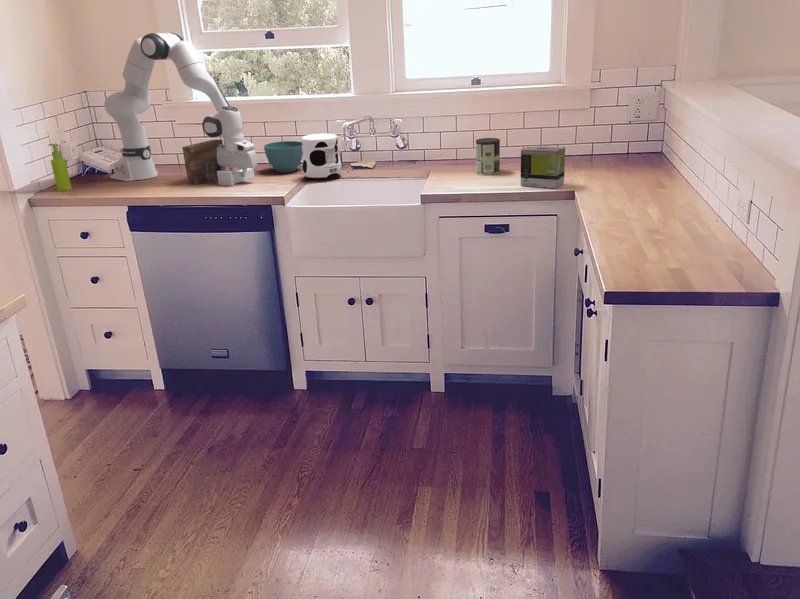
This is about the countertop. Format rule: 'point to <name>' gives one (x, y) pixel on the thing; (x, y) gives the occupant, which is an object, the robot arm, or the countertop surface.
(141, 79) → the robot arm
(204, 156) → the brown wooden block
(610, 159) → the countertop surface
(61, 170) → the soap dispenser
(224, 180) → the white t-shaped piece
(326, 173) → the milk container
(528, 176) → the tea box
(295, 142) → the teal bowl
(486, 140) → the coffee can
